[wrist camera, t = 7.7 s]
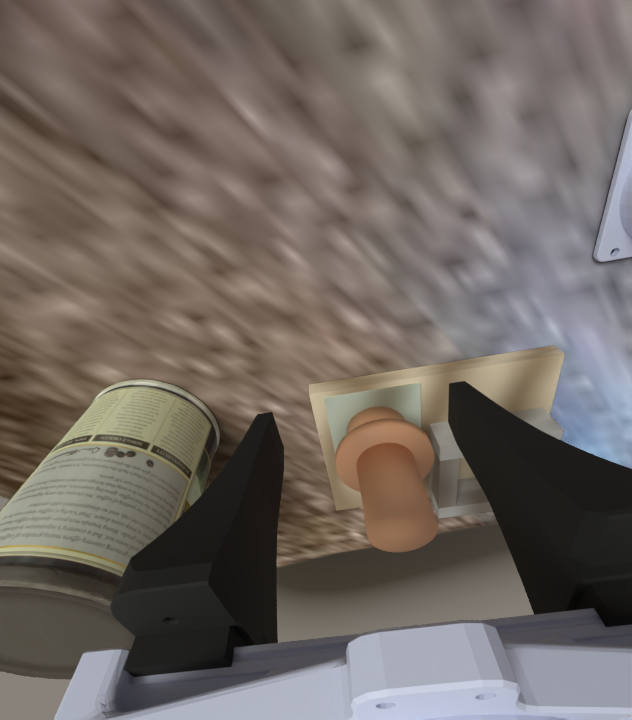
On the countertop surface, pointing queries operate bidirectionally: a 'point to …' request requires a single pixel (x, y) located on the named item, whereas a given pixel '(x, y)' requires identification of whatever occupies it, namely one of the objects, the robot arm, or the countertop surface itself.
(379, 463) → the end cover
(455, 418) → the robot arm
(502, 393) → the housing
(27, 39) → the countertop surface
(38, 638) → the coffee can
